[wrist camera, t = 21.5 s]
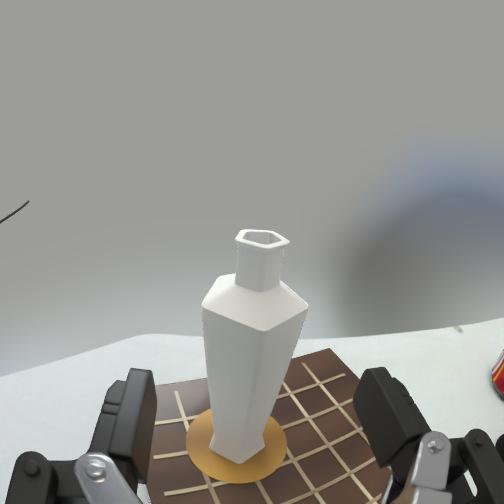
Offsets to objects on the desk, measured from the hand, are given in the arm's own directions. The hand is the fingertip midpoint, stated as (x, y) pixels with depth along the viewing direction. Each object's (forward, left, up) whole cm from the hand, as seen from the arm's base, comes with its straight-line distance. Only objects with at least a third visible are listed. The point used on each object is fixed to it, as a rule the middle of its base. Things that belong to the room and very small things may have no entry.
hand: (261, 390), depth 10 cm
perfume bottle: (-3, +1, -11) cm, 11 cm away
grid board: (-1, +4, -12) cm, 13 cm away
